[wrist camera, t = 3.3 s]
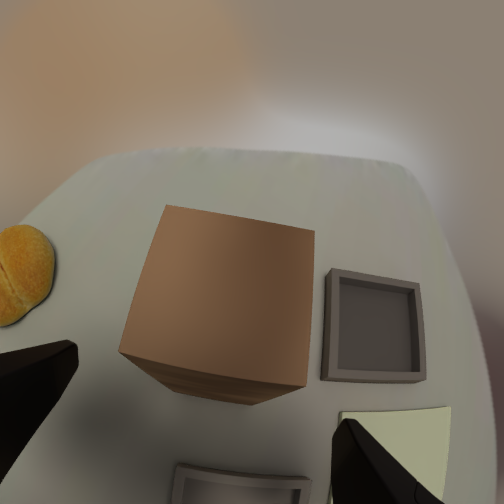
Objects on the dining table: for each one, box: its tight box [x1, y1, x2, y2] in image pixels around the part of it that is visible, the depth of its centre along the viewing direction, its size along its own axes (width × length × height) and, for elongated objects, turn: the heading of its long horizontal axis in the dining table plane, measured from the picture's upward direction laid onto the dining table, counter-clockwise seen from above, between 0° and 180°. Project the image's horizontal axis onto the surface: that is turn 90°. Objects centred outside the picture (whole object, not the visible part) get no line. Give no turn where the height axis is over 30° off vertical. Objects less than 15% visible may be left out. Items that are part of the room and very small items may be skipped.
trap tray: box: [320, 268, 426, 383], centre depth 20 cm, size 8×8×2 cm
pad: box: [328, 406, 451, 504], centre depth 15 cm, size 10×10×1 cm
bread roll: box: [0, 225, 55, 326], centre depth 18 cm, size 8×9×4 cm
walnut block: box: [118, 205, 315, 406], centre depth 14 cm, size 5×5×12 cm
